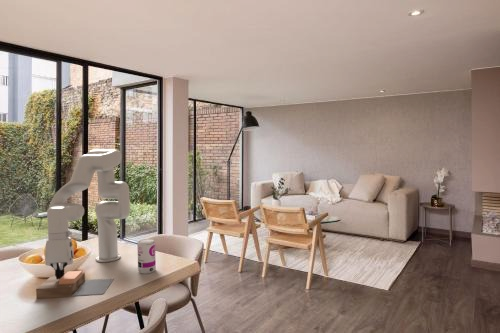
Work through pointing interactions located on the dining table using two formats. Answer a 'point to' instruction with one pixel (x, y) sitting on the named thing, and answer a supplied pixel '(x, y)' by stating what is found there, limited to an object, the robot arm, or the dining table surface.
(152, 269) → the supplement can
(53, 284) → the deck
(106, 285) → the mat
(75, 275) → the peach rectangular tile
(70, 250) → the robot arm
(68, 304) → the dining table surface
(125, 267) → the dining table surface
